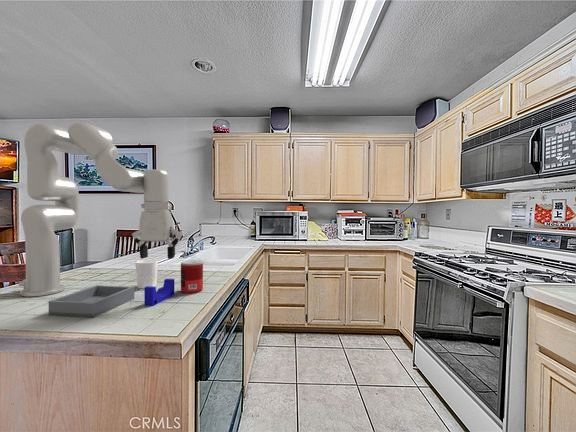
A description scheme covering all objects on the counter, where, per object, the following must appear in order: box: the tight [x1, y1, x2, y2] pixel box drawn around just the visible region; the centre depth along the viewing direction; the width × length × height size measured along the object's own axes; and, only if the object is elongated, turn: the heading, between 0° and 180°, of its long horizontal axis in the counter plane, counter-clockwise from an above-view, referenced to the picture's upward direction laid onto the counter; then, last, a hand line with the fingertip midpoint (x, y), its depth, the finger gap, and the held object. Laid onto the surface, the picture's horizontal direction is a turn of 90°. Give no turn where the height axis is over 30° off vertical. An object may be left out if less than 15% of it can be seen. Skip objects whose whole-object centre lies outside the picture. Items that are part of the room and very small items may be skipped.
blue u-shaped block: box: [143, 278, 175, 307], centre depth 100 cm, size 12×4×6 cm, turn 169°
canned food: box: [180, 259, 204, 295], centre depth 111 cm, size 8×8×11 cm
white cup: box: [135, 259, 159, 290], centre depth 116 cm, size 8×8×10 cm
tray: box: [48, 284, 135, 319], centre depth 93 cm, size 14×18×4 cm
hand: (157, 258), depth 99 cm, fingers open, 9 cm apart
